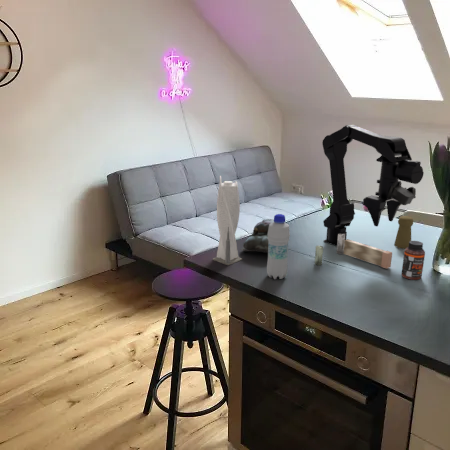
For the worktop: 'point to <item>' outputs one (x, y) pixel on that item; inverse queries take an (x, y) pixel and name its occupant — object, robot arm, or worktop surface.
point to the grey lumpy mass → (258, 237)
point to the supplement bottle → (413, 261)
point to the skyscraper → (227, 222)
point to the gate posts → (339, 249)
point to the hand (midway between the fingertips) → (383, 223)
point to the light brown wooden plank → (368, 253)
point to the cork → (404, 232)
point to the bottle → (278, 247)
